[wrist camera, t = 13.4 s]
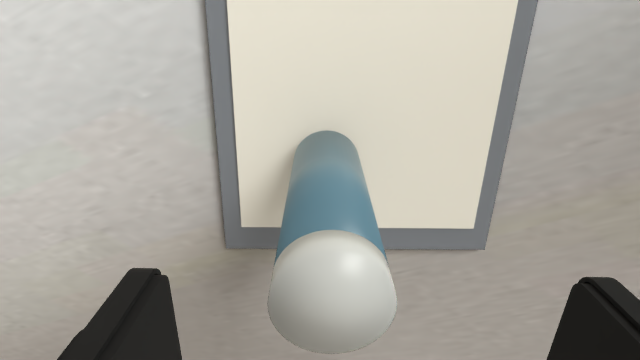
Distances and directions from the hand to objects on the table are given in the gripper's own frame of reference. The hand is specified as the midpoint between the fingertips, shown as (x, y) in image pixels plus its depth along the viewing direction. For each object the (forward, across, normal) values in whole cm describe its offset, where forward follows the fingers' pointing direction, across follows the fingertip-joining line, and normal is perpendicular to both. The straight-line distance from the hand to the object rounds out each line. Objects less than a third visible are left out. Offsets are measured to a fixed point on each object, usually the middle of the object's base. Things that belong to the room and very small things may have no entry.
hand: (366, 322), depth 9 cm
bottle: (+12, +1, 0) cm, 12 cm away
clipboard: (+12, -1, -4) cm, 13 cm away
